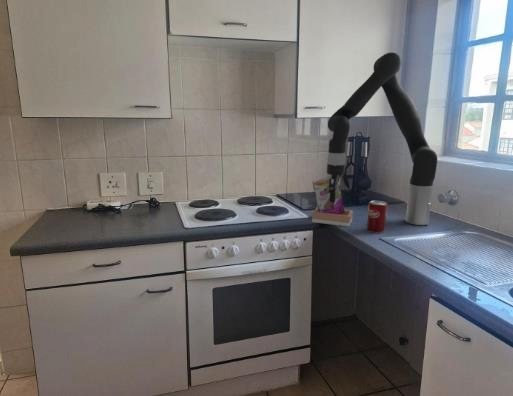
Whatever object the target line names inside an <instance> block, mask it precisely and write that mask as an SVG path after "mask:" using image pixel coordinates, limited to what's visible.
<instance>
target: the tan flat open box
mask: <svg viewBox="0 0 513 396" xmlns="http://www.w3.org/2000/svg"><path fill="white" fill-rule="evenodd" d="M344 211H345V213H342V214H330V213H321V212H319V211H318V206H316V208H314V209H313V211H312V216H311V222H312V223H315V224H316V223H317V224H318V223H319V224H324V225H325V224H326V225H331V226H340V225H341V226H343V227H348V226H349V227H350V225H351V224H350V223H352V222H353V215H354V214H353V213H354V211H353V210H350V209H344Z"/></svg>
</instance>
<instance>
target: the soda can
mask: <svg viewBox="0 0 513 396" xmlns="http://www.w3.org/2000/svg"><path fill="white" fill-rule="evenodd" d="M387 213H388V203H387V202H385V201H382V200H371V201H369V202H368V208H367V220H366V230H367V231H368V232H370V233H373V234H382V233H384V232H385V230H386V224H387Z"/></svg>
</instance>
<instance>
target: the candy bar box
mask: <svg viewBox="0 0 513 396" xmlns="http://www.w3.org/2000/svg"><path fill="white" fill-rule="evenodd" d="M331 177H332V176H329V177H325V178H319V179H314V180H312V186H313V187H312V188H313V191H314V196H315V201H316V205H317V206H316V207H318V211H319V212H321V213H330V214H342V213H345V211H344V210H345V207H344V202H343V196H342V192H341V185H340V186H339V182H338V178H337V182H338V189H336V194H335V202H330V193H329V182H330V181H329V180H330V179H331ZM332 190H334V189H332Z"/></svg>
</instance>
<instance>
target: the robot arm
mask: <svg viewBox="0 0 513 396" xmlns="http://www.w3.org/2000/svg"><path fill="white" fill-rule="evenodd" d="M401 67H402V58H401V56H400V55H399V54H398V53H396V52H393V51H391V52H387V53H384V54H383V55H382V56H380V57H379V58H378V59H376V60H375V62H374V63H373V72H372V73H371V75H370V76H369V77H368V78H367V79H366V80H365V81H364V83H362V84H361V85H359V87H358V88H357V89H356V90H355V91H354V92H353V93H352V95H351V96H350V97H349V98H348V99H347V100H346V101H345V103H344V104H343V105H342V106H341V107H340V108H338V109H337V110H336V111H335V112H334V113H333V114H332V115H331V116H330V118H329V119H328V121H327V128H328V130H329V131H330V132H331V133H332V132H333V133H332V138H330V140H328V141H329V142H328V151H327V152H328V153H327V162H326V174H327V175H331V176H330V177H331V179H330V180H329V181H330V182H329V193H330V202H335V194H336V189H338V182H339V186H340V187H341V178H342V176H344V175H345V173H346V171H345V170H346V146H347V145H346V143H347V140H348V137H349V133H350V129H351V125H350V119H352V118H354V117H357V116H358V115H359V113H360V112H361V111H362V110H363V109H364V107H365V106H366V105H367V104H368V103H369V101H370V100H371V99H372V98H373V96H374V95H375V94H376V93H377V92H378V91H379V89H381V88H382V89H383V92H384V94H385V96H386V99H387V102H388V105H389V107H390V110H391V112H392V114H393V117H394V119H395V121H396V124H397V126H398V128H399V130H400V132H401V134H402V136H403V137H404V139H405V141H406V144H407V147H408V150H409V154H410V159H411V162H412V172H411V176H410V179H409V186H408V187H409V188H408V196H407V204H406V205H407V207H406V215H405V222H406V223H408V224H410V225H411V224H412V225H416V226H425V225H426V226H428V225H429V221H430V212H431V206H432V205H431V204H432V203H431V201H432V193H433V186H434V185H433V184H434V181H435V178H436V173H437V165H438V155H437V153H436V151H434V150H433V149H432V148H431V147H430V145H429V144H428V142H427V139H426V138H425V135H424V132H423V127H422V122H421V118H420V114H419V111H418V108H417V106H416V104H415V101H414V100H413V99H412V97H411V96H410V95H409V93H408V92H407V91H405V89H404V88H403V87H402V85H401V83H400V81H399V78H398V75H397V73H398V72H399V71H400V70H401ZM337 178H338V182H337ZM332 189H334V190H332Z"/></svg>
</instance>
